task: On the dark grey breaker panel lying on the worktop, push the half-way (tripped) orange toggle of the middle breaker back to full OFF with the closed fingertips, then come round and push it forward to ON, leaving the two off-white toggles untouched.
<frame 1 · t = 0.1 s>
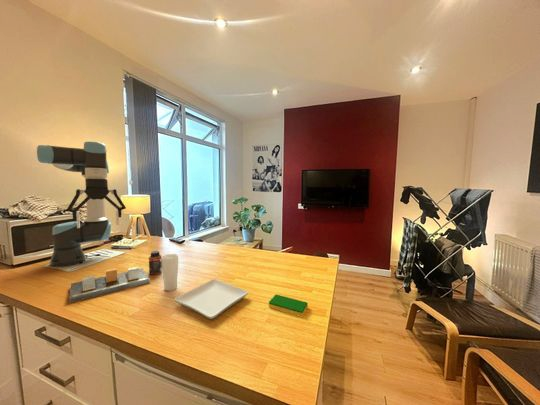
hand: (98, 226, 95), 28 cm above the kitchen counter, fingers open, 13 cm apart
tripped toggle: (111, 275, 98), point 5 cm above the kitchen counter, slide at 0.0 cm
salad plate: (212, 303, 87), on the kitchen counter
dish sponge: (288, 308, 84), on the kitchen counter
white tumbler: (170, 288, 97), on the kitchen counter
panel: (111, 285, 99), on the kitchen counter
supplement bottle: (155, 273, 113), on the kitchen counter
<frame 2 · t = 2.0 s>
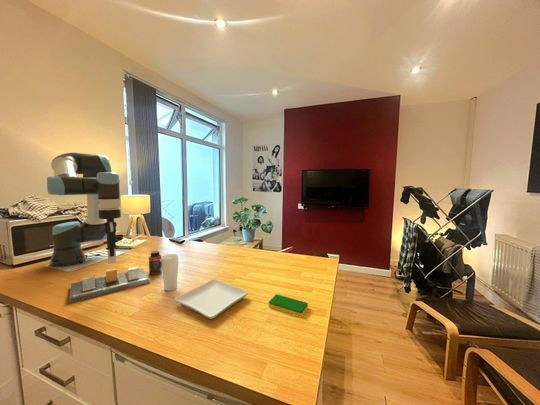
hand: (112, 262, 93), 13 cm above the kitchen counter, fingers closed
nothing on the kitchen counter moved.
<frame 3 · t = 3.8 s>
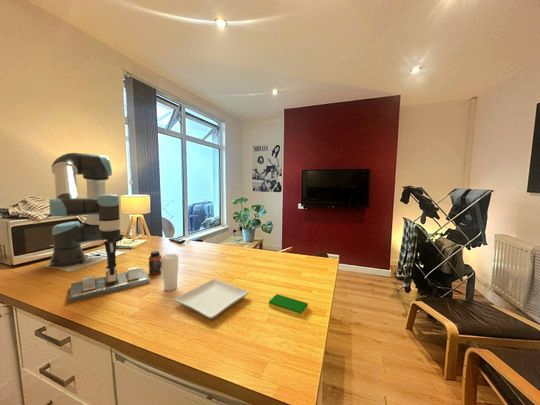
hand: (112, 280, 96), 3 cm above the kitchen counter, fingers closed
tripped toggle: (111, 274, 99), point 5 cm above the kitchen counter, slide at -0.3 cm, touching gripper
everything else where it was.
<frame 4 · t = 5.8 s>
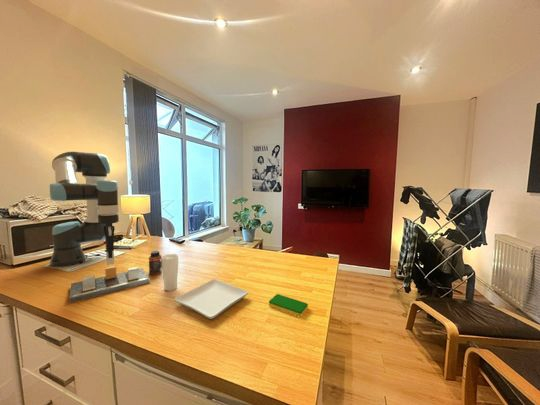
hand: (110, 263, 100), 9 cm above the kitchen counter, fingers closed
tripped toggle: (110, 272, 101), point 5 cm above the kitchen counter, slide at -4.0 cm
everything else where it was.
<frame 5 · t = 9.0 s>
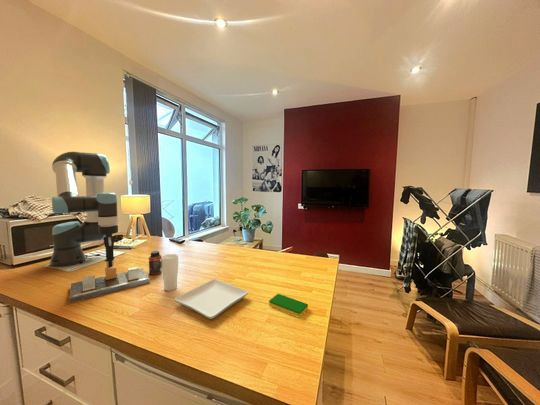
hand: (110, 273, 103), 4 cm above the kitchen counter, fingers closed
tripped toggle: (110, 272, 101), point 5 cm above the kitchen counter, slide at -3.4 cm, touching gripper
everything else where it was.
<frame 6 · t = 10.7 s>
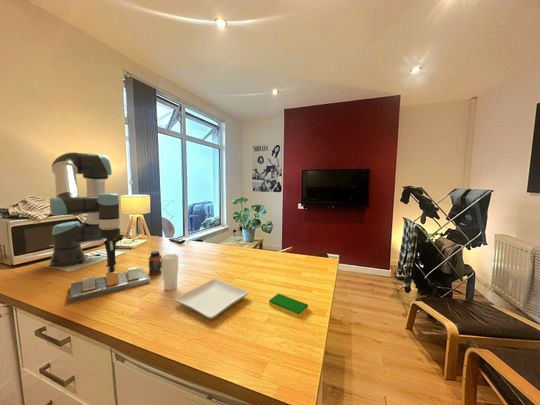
hand: (111, 278, 97), 4 cm above the kitchen counter, fingers closed
tripped toggle: (112, 278, 95), point 5 cm above the kitchen counter, slide at 4.3 cm, touching gripper
everything else where it was.
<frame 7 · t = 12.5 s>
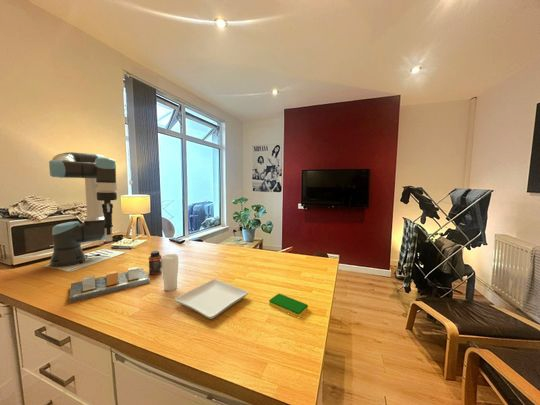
hand: (108, 240, 102), 20 cm above the kitchen counter, fingers closed
tripped toggle: (112, 278, 95), point 5 cm above the kitchen counter, slide at 4.0 cm
everything else where it was.
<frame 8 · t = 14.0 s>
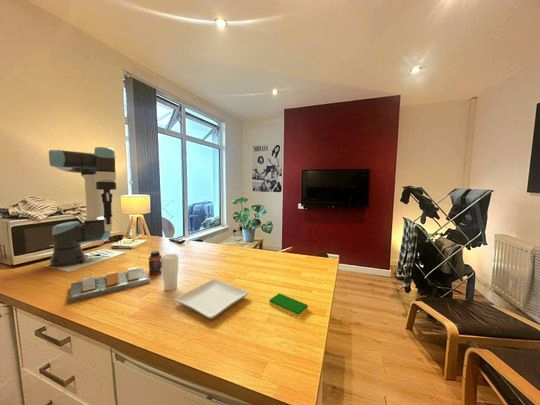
hand: (108, 230, 102), 24 cm above the kitchen counter, fingers closed
nothing on the kitchen counter moved.
at the end: tripped toggle slide at 4.0 cm; tripped toggle touching nothing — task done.
